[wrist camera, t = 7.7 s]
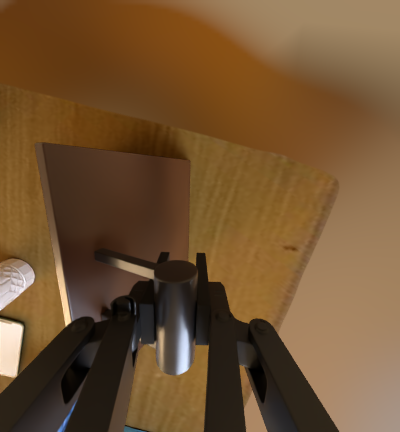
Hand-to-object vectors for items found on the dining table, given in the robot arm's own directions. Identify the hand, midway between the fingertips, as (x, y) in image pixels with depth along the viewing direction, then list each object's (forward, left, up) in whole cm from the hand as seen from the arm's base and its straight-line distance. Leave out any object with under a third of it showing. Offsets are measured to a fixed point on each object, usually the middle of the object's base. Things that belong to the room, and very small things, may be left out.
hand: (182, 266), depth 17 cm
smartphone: (+50, -10, -19) cm, 54 cm away
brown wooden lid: (+2, -3, -2) cm, 4 cm away
